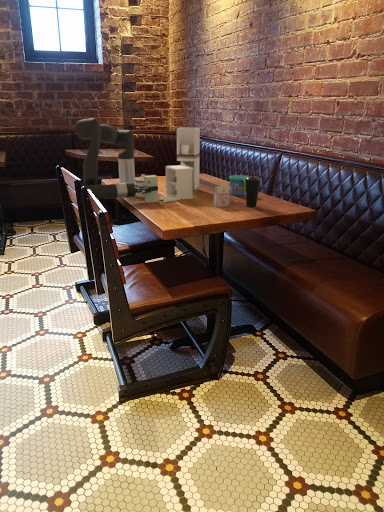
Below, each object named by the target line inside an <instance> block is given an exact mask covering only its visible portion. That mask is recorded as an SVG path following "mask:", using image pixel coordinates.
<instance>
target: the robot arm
mask: <svg viewBox="0 0 384 512" xmlns="http://www.w3.org/2000/svg"><path fill="white" fill-rule="evenodd" d="M74 132H75V134H76V135H77V137H78V138H79V139H81V140H83V141H85V140H90V146H89V148H88V151H87V152H86V155H85V156H84V160H83V162H82V174H83V175H82V177H83V180H82V187H83V186H84V187H86V188H87V189H90V190H91V191H92V193H93V194H94V195H95V197H96V198H97V199H96V200H99V199H105V200H106V199H107V200H113V199H115V200H116V199H129V198H135V196H136V193H138V194H141V193H142V194H145V193H151V192H152V191H157V190H158V191H159V185H158V186H149V187H147V186H144V184H135V179H136V176H135V173H136V172H135V156H134V155H135V135H134V132H133V131H132V130H129V129H116V128H115V127H113V126H112V125H109V124H104V123H103V124H101V122H100V121H99V120H98V119H97V118H96V117H90V118H84V119H80V120H78V121H77V122H76V123H75V125H74ZM101 143H104V144H114V145H115V146H118V147H126V148H125V150H124V151H121V152H119V153H118V154H117V157H118V158H117V161H118V177H119V179H118V180H119V182H118V183H111V184H109V183H108V184H99V183H97V182H98V181H99V153H100V148H101V147H100V146H101ZM144 187H145V188H144ZM148 189H149V190H148Z"/></svg>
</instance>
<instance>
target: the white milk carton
mask: <svg viewBox="0 0 384 512" xmlns="http://www.w3.org/2000/svg"><path fill="white" fill-rule="evenodd" d="M229 187H230V185H218V186H215V188H214V192H213V206H214V207H215V208H225V207H230V189H229Z"/></svg>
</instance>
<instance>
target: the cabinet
mask: <svg viewBox="0 0 384 512" xmlns="http://www.w3.org/2000/svg"><path fill="white" fill-rule="evenodd" d="M181 199H182V200H191V199H194V193H193V168H191V167H188V166H184V165H181V164H179V165H166V166H165V196H158V201H162V200H163V203H169V202H170V203H171V202H177V201H178V200H179V201H180V200H181Z"/></svg>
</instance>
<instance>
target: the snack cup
mask: <svg viewBox="0 0 384 512" xmlns="http://www.w3.org/2000/svg"><path fill="white" fill-rule="evenodd" d="M247 177H249V176H248V175H244V174H243V175H241V174H240V175H239V174H235V175H230V176H228V180H229V185H228V186H229V187H230V193H231V195H232V196H245V195H246V186H245V178H247Z"/></svg>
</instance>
